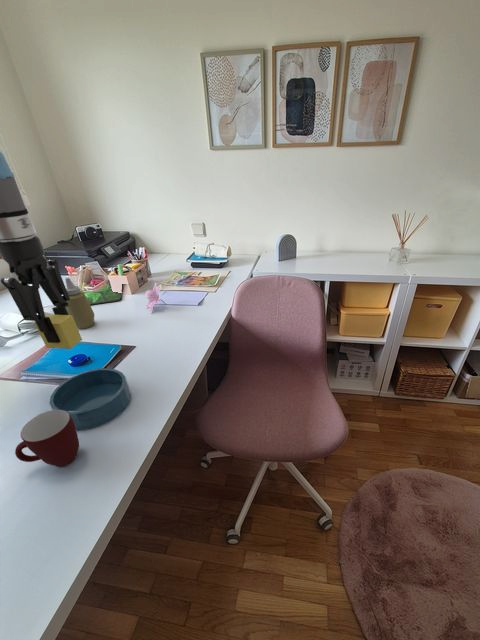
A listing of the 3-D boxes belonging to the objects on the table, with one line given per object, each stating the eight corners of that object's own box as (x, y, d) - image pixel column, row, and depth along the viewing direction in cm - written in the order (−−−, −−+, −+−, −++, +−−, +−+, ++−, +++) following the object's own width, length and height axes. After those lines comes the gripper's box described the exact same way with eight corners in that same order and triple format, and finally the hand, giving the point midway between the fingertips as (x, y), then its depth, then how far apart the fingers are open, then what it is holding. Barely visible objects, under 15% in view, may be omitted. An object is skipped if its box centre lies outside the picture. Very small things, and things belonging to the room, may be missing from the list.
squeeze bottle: (94, 318, 115) (77, 272, 105) (100, 325, 110) (83, 278, 100) (71, 325, 111) (51, 277, 101) (76, 333, 106) (56, 284, 96)
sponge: (46, 348, 74) (34, 322, 70) (59, 338, 77) (47, 314, 74) (70, 349, 73) (59, 323, 69) (82, 339, 77) (72, 315, 73)
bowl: (41, 426, 69) (31, 410, 66) (86, 380, 83) (79, 366, 80) (107, 433, 67) (100, 417, 64) (142, 385, 81) (138, 370, 78)
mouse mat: (121, 300, 128) (121, 298, 128) (64, 309, 122) (63, 306, 122) (123, 280, 150) (123, 278, 149) (74, 286, 144) (74, 284, 143)
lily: (150, 303, 128) (135, 288, 121) (174, 291, 127) (160, 275, 119) (151, 322, 121) (136, 308, 114) (177, 310, 120) (162, 294, 112)
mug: (28, 491, 56) (2, 456, 50) (28, 460, 61) (4, 426, 56) (90, 463, 61) (72, 428, 55) (85, 437, 66) (68, 403, 61)
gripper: (-4, 249, 54) (50, 357, 66) (62, 229, 68) (96, 320, 81) (-41, 249, 54) (19, 355, 67) (32, 229, 69) (70, 319, 82)
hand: (61, 336), depth 74 cm, fingers closed on sponge, 4 cm apart
